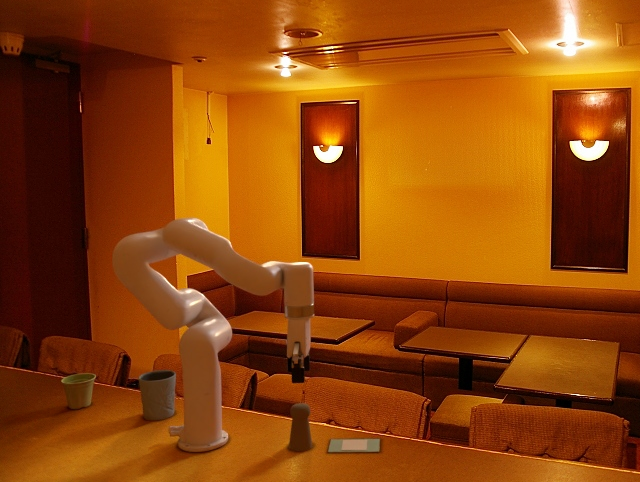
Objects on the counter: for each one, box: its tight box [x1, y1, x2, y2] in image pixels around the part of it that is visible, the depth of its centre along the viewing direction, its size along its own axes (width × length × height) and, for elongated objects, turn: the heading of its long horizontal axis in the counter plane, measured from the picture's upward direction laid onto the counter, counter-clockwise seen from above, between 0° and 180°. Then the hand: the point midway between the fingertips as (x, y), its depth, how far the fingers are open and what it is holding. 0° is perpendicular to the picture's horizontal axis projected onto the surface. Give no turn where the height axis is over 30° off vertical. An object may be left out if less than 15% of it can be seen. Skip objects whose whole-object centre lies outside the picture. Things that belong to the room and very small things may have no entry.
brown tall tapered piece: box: [288, 402, 313, 452], centre depth 157 cm, size 6×6×11 cm
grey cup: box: [138, 369, 177, 421], centre depth 178 cm, size 10×10×12 cm
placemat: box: [327, 438, 381, 454], centre depth 157 cm, size 13×8×1 cm, turn 91°
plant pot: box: [60, 372, 97, 410], centre depth 186 cm, size 9×9×9 cm
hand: (301, 376), depth 156 cm, fingers open, 9 cm apart
